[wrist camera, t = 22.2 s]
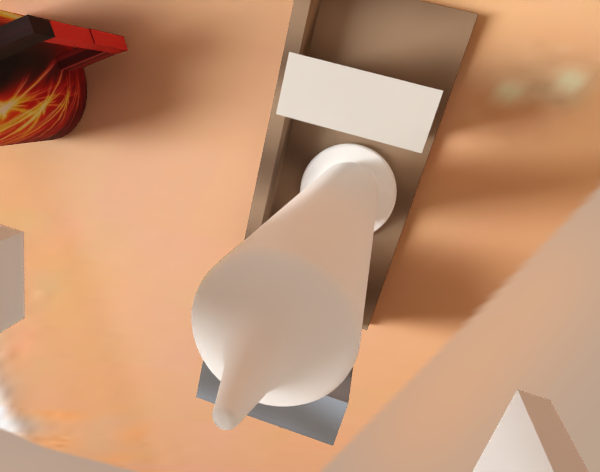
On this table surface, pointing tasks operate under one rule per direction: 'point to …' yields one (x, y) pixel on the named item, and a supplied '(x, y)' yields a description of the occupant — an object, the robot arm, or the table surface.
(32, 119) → the mug
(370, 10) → the rack
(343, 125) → the bookend
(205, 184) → the table surface
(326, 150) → the white round flared column
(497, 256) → the table surface
